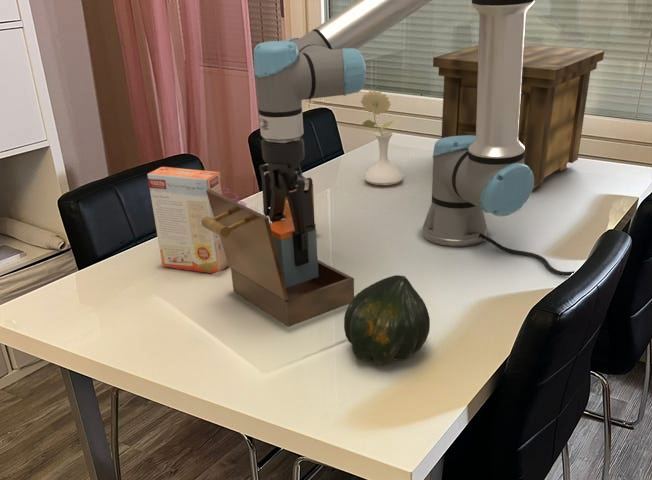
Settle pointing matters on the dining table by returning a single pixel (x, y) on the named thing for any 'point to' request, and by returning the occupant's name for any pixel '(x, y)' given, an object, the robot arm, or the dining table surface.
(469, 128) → the wooden drawer cabinet
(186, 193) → the cracker box
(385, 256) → the dining table surface
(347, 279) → the chest
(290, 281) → the container
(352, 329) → the squash
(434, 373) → the dining table surface
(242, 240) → the chest lid
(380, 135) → the flower in vase
